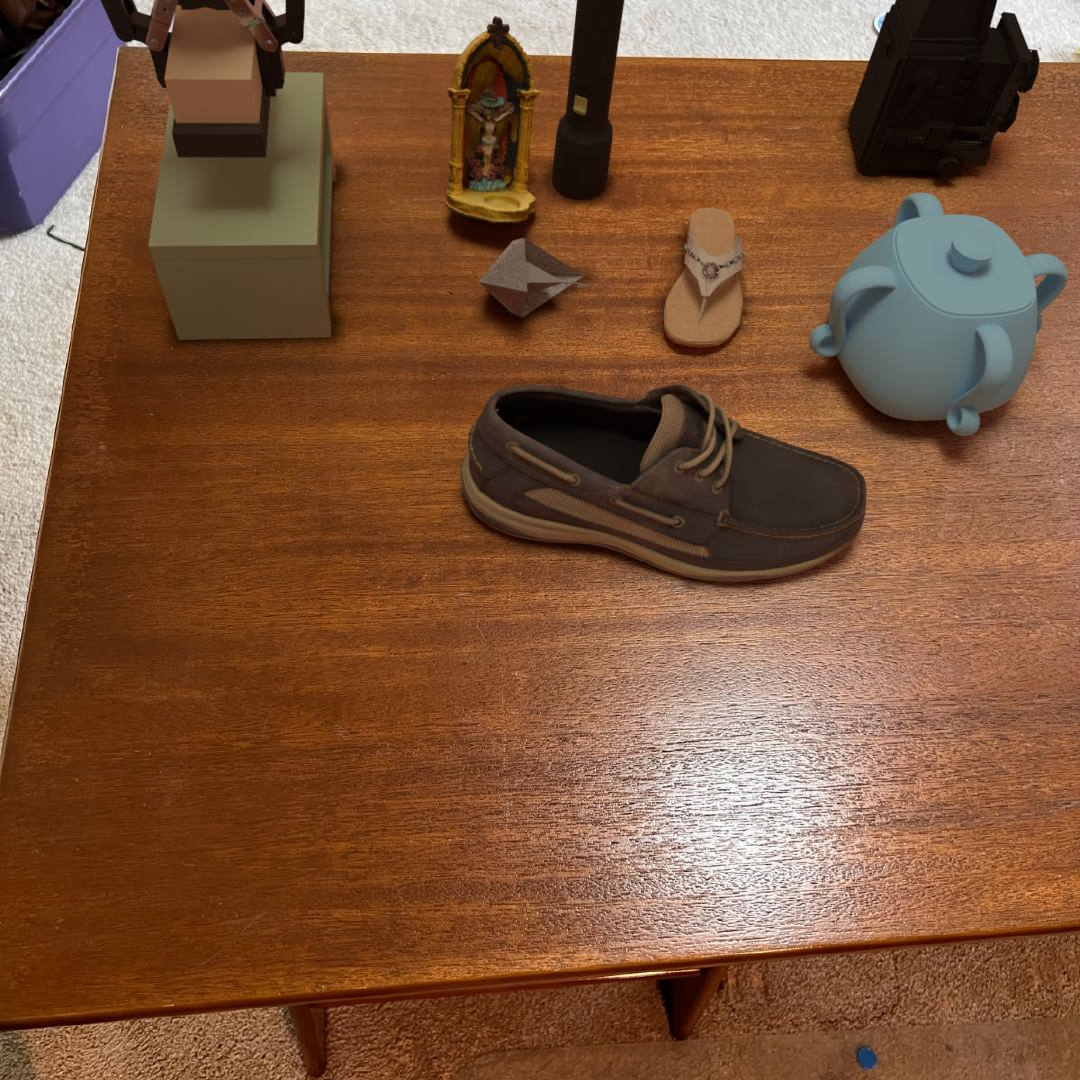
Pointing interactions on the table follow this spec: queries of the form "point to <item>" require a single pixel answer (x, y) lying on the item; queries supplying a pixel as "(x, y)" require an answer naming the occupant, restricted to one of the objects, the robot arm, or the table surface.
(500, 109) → the shrine
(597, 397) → the boat shoe
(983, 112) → the camera
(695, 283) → the sandal
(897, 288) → the decorative pot
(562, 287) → the paper boat
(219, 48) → the board eraser
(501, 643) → the table surface
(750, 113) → the table surface
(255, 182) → the olive green lidded box
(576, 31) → the flashlight
